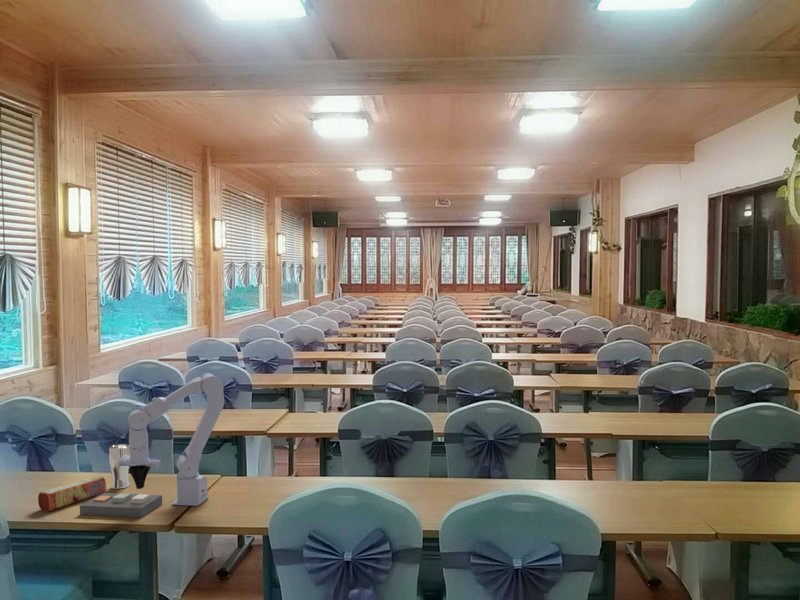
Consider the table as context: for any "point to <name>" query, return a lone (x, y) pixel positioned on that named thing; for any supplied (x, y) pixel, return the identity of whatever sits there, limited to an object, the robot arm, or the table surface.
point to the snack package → (71, 493)
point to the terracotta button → (102, 499)
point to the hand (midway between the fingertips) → (140, 487)
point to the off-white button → (140, 499)
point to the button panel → (120, 506)
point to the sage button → (121, 498)
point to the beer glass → (119, 471)
